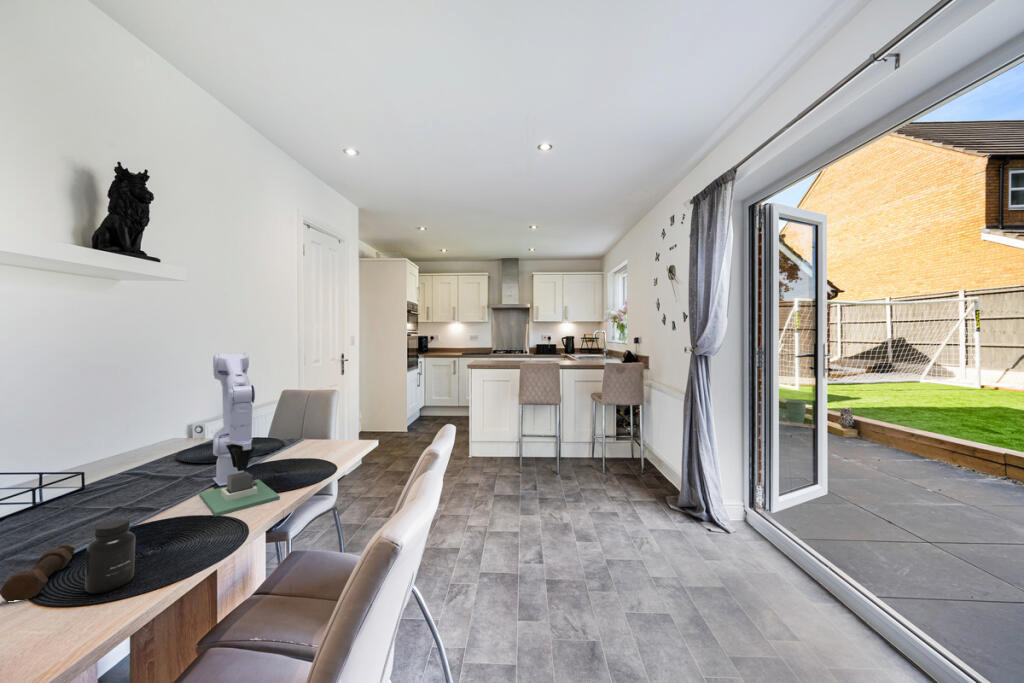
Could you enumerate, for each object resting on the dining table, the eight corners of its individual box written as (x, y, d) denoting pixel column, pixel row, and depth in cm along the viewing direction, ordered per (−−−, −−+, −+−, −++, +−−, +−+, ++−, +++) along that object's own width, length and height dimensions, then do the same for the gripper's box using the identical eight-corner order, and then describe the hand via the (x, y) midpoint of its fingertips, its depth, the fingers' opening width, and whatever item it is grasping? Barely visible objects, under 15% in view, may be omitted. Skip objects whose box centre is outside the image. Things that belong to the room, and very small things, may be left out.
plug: (227, 494, 118) (227, 475, 117) (249, 489, 122) (249, 470, 122) (230, 498, 115) (231, 478, 115) (253, 492, 119) (254, 473, 119)
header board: (199, 495, 119) (199, 486, 119) (258, 482, 131) (258, 473, 131) (215, 516, 106) (215, 506, 106) (279, 499, 118) (279, 490, 118)
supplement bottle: (119, 591, 74) (121, 530, 74) (74, 597, 72) (76, 534, 72) (142, 571, 81) (143, 514, 81) (101, 575, 79) (102, 518, 79)
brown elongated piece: (69, 567, 85) (26, 607, 71) (41, 561, 83) (-9, 601, 69) (88, 541, 86) (49, 576, 73) (61, 534, 84) (16, 568, 71)
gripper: (218, 422, 120) (217, 465, 120) (231, 430, 110) (230, 477, 110) (245, 419, 125) (244, 460, 125) (259, 427, 116) (258, 471, 116)
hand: (239, 468), depth 118 cm, fingers open, 4 cm apart
